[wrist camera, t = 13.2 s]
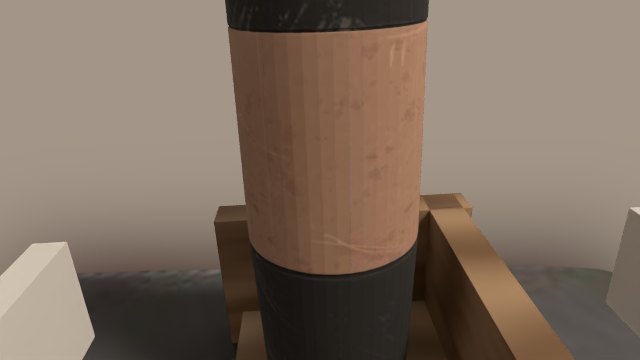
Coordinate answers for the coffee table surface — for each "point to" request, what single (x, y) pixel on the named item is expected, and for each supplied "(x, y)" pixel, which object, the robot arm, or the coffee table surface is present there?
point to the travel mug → (331, 169)
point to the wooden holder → (417, 292)
